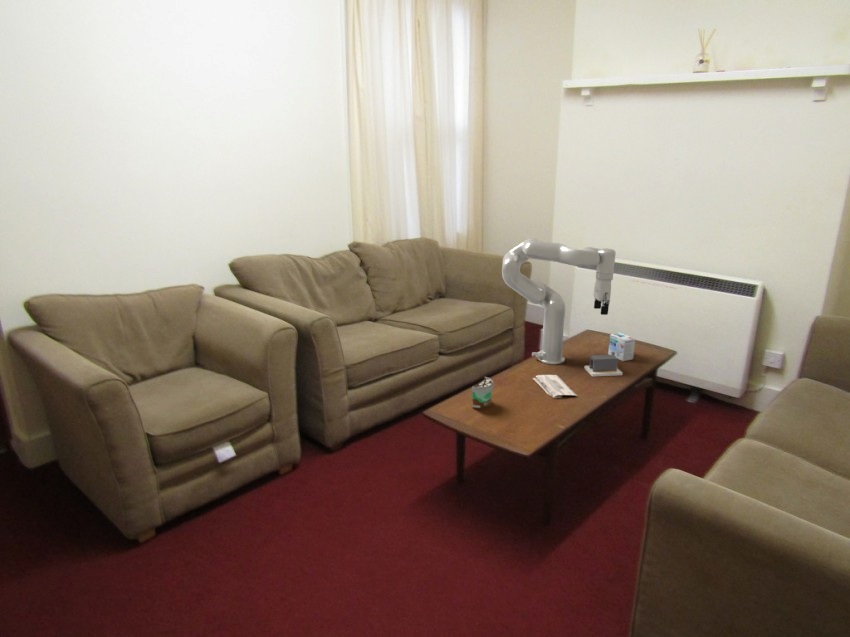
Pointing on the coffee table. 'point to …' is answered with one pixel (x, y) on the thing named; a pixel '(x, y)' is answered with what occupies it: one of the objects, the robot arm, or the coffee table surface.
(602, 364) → the block
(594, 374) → the board
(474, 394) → the food container
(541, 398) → the coffee table surface
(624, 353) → the light bulb box
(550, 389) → the newspaper
